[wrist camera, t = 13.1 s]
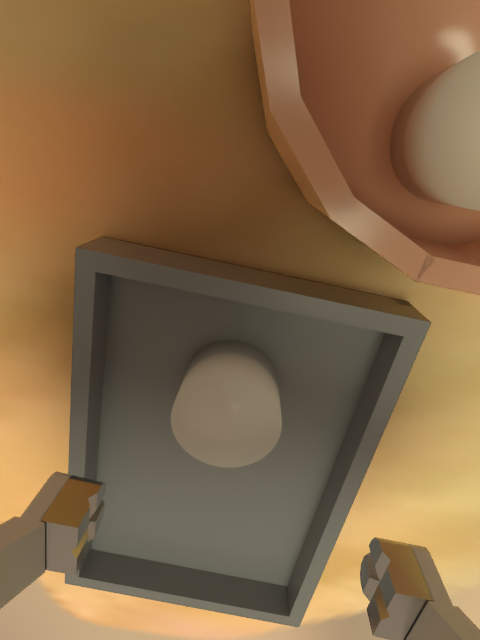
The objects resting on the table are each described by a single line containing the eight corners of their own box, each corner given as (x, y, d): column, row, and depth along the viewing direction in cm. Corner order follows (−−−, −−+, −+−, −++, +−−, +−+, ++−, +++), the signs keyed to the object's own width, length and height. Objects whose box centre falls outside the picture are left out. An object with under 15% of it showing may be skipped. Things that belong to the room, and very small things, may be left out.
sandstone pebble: (373, 189, 14) (402, 194, 11) (416, 52, 13) (464, 16, 10) (485, 213, 14) (543, 224, 11) (543, 81, 13) (628, 54, 10)
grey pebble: (179, 411, 19) (164, 456, 16) (193, 331, 17) (178, 365, 14) (266, 428, 19) (268, 476, 16) (288, 350, 17) (294, 388, 14)
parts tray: (83, 543, 24) (64, 583, 22) (102, 236, 16) (75, 247, 14) (295, 583, 24) (298, 627, 22) (407, 301, 17) (431, 322, 14)
